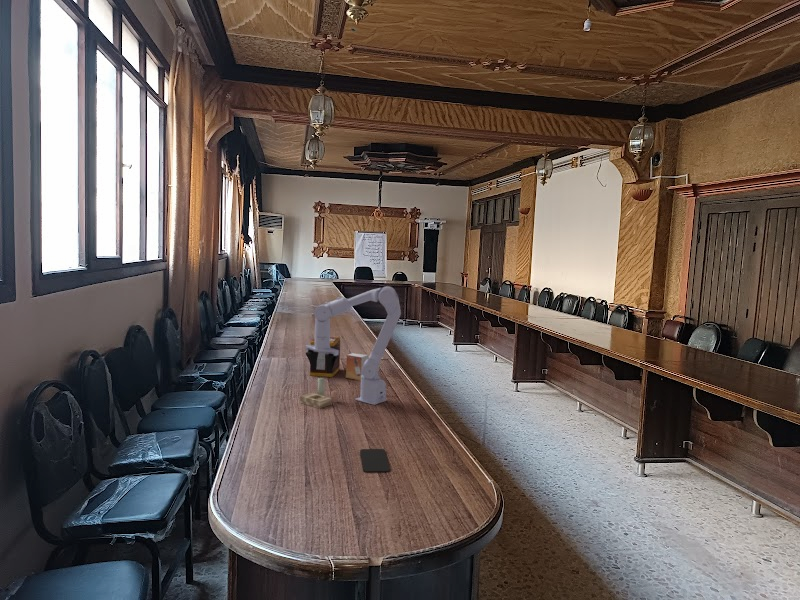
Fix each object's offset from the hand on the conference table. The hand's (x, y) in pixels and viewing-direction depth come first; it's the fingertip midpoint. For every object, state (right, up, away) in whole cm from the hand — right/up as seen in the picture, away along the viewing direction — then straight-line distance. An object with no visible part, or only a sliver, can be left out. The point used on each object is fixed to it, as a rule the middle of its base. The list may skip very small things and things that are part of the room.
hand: (321, 371), depth 207 cm
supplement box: (-4, -6, +41) cm, 42 cm away
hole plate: (-1, -11, -6) cm, 13 cm away
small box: (+11, -8, +33) cm, 35 cm away
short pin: (+5, -11, -3) cm, 13 cm away
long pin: (0, -10, +1) cm, 10 cm away
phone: (+23, -18, -56) cm, 63 cm away
